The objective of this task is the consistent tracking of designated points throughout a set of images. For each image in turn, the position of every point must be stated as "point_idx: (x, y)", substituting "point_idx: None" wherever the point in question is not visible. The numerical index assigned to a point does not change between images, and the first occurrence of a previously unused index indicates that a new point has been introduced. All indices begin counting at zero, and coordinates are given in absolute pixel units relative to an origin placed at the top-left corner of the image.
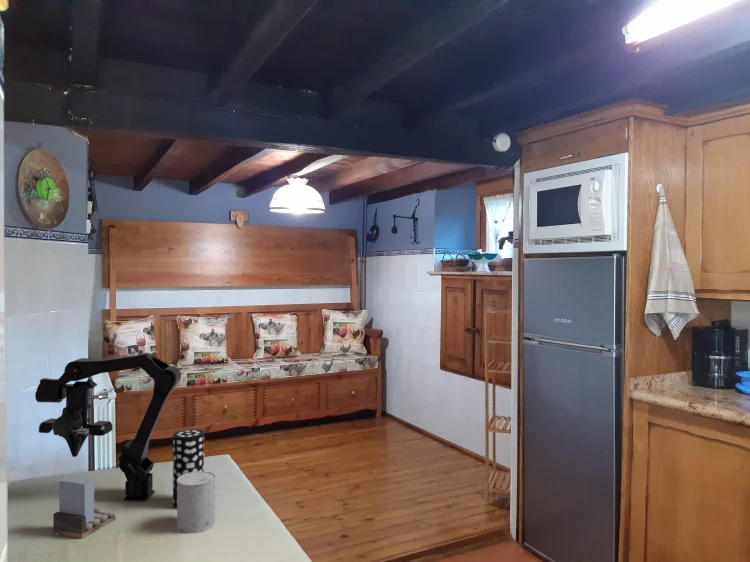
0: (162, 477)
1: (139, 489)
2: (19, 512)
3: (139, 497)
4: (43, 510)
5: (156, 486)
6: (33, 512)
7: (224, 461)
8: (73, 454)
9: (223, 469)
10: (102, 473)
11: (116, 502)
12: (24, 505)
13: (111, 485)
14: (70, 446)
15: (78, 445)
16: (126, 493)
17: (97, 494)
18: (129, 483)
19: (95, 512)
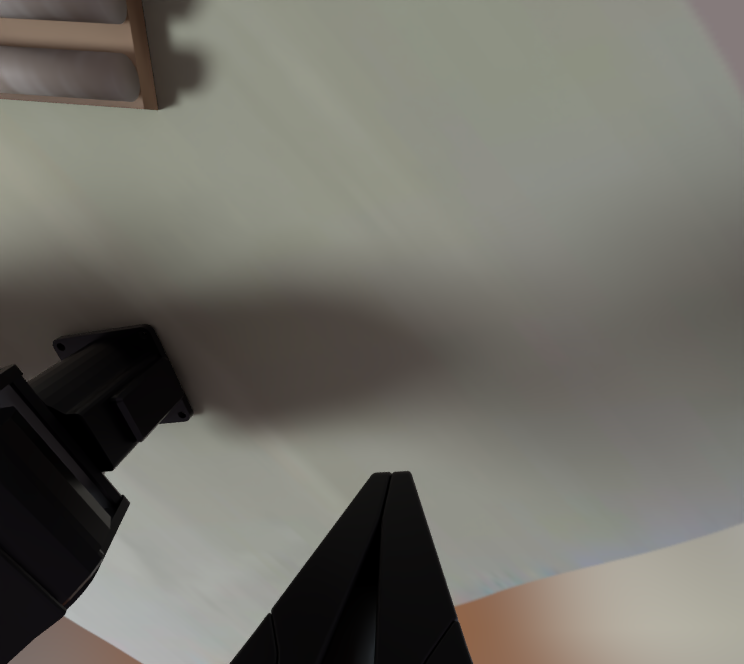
0: (213, 541)
1: (49, 368)
2: (649, 6)
3: (82, 346)
4: (487, 93)
5: (158, 470)
6: (536, 40)
7: (133, 651)
8: (387, 491)
9: (77, 604)
10: (498, 556)
11: (167, 297)
12: (685, 132)
13: (355, 458)
14: (414, 613)
15: (255, 641)
16: (154, 362)
17: (338, 363)
18: (91, 389)
19: (16, 47)
